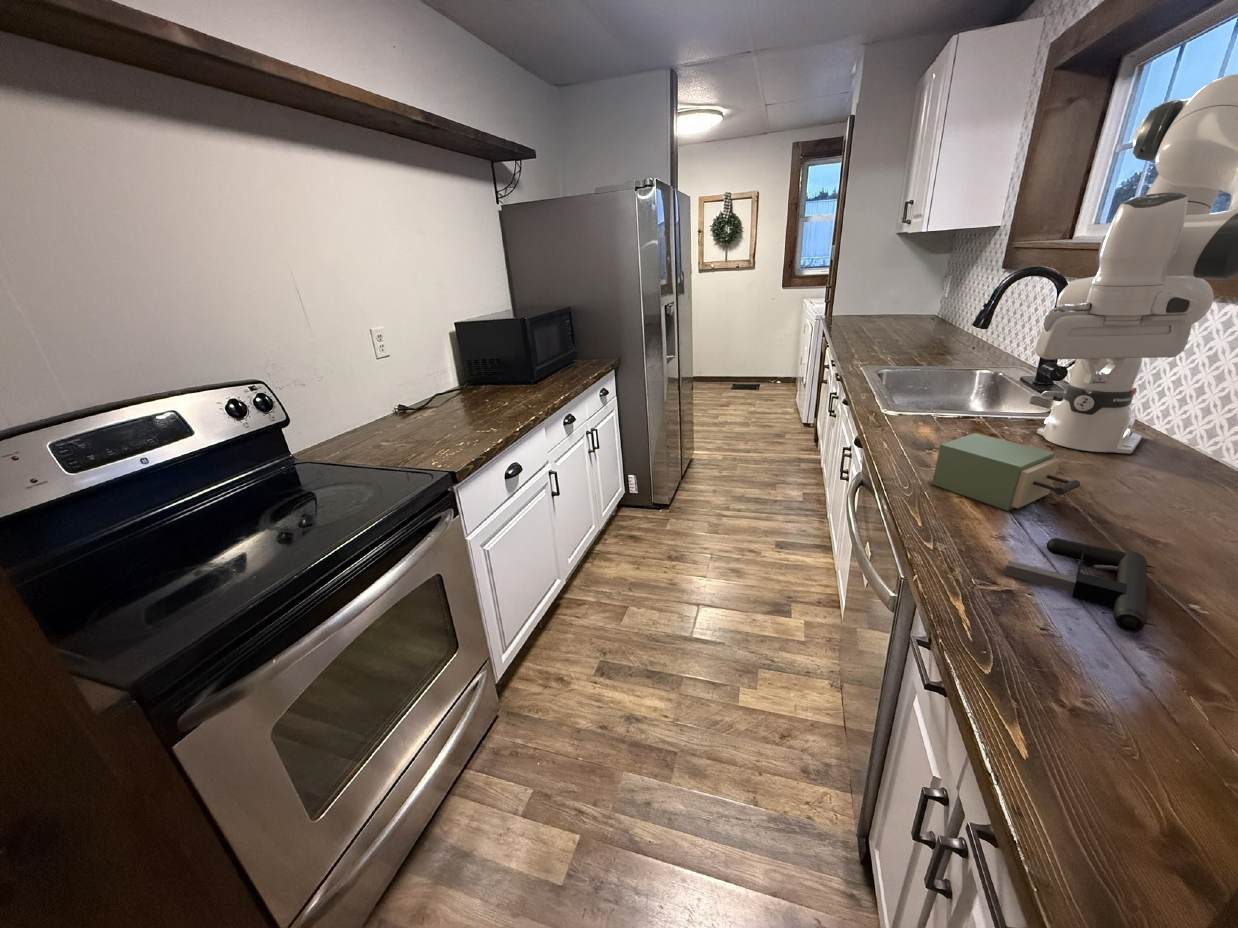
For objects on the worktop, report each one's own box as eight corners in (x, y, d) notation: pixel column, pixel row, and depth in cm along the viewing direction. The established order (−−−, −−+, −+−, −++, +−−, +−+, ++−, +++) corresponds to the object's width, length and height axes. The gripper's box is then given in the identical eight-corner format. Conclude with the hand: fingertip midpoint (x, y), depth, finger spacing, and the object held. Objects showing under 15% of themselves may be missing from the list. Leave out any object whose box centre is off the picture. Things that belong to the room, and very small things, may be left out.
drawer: (1079, 503, 94) (1092, 467, 91) (1048, 519, 89) (1060, 482, 86) (976, 471, 109) (984, 440, 106) (945, 483, 104) (952, 451, 101)
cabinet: (1042, 494, 99) (1055, 452, 96) (1007, 511, 94) (1020, 467, 91) (966, 471, 111) (975, 432, 108) (931, 484, 106) (940, 444, 103)
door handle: (1000, 577, 72) (1162, 622, 61) (1023, 525, 85) (1159, 553, 74) (996, 597, 73) (1154, 644, 62) (1019, 542, 86) (1153, 573, 75)
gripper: (1059, 307, 83) (1037, 387, 89) (1210, 301, 78) (1178, 386, 84) (1039, 303, 89) (1019, 379, 94) (1179, 297, 84) (1150, 378, 90)
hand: (1095, 382), depth 89 cm, fingers closed
